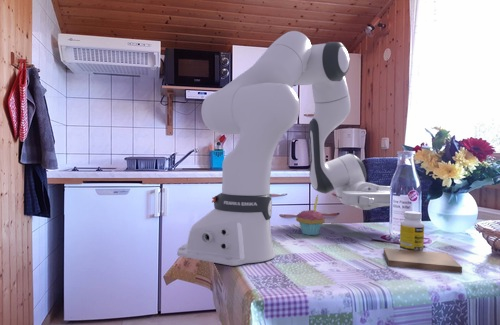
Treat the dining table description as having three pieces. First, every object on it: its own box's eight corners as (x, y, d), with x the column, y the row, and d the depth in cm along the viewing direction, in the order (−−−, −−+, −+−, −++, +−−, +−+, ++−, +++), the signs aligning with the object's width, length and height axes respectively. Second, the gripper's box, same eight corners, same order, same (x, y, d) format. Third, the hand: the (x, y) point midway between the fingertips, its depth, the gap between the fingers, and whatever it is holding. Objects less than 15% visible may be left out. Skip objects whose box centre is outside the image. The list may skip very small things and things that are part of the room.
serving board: (388, 265, 76) (388, 260, 76) (383, 252, 86) (383, 248, 86) (461, 272, 72) (462, 266, 72) (447, 258, 82) (447, 253, 82)
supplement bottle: (416, 255, 85) (417, 214, 85) (395, 250, 89) (396, 211, 89) (427, 252, 88) (428, 212, 88) (407, 247, 92) (408, 210, 92)
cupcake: (322, 231, 111) (323, 193, 111) (326, 237, 103) (327, 196, 103) (295, 230, 112) (296, 192, 112) (296, 235, 104) (297, 195, 103)
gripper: (334, 186, 113) (353, 190, 99) (393, 186, 116) (419, 190, 102) (334, 205, 113) (352, 212, 99) (393, 205, 116) (419, 211, 103)
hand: (387, 201), depth 101 cm, fingers open, 8 cm apart
